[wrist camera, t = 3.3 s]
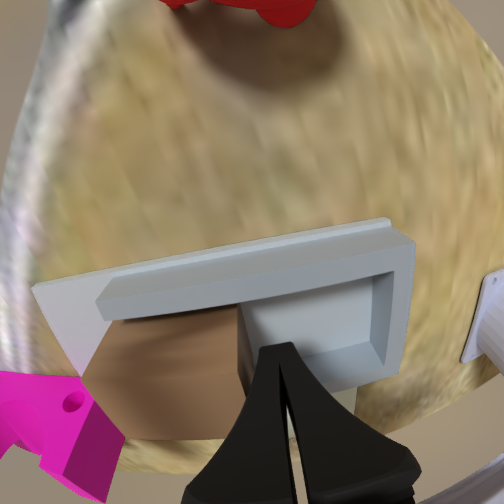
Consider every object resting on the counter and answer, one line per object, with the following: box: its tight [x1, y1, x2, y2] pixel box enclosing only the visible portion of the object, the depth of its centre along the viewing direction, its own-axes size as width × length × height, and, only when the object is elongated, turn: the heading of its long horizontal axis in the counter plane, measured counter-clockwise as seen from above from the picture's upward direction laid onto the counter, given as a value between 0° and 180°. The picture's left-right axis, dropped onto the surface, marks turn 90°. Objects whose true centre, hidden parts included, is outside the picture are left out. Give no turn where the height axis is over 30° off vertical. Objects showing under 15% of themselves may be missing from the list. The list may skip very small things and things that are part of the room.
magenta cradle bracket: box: [0, 371, 125, 503], centre depth 13 cm, size 15×6×8 cm, turn 103°
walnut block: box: [80, 302, 254, 440], centre depth 11 cm, size 6×4×5 cm, turn 100°
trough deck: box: [31, 217, 416, 394], centre depth 13 cm, size 19×8×3 cm, turn 100°
